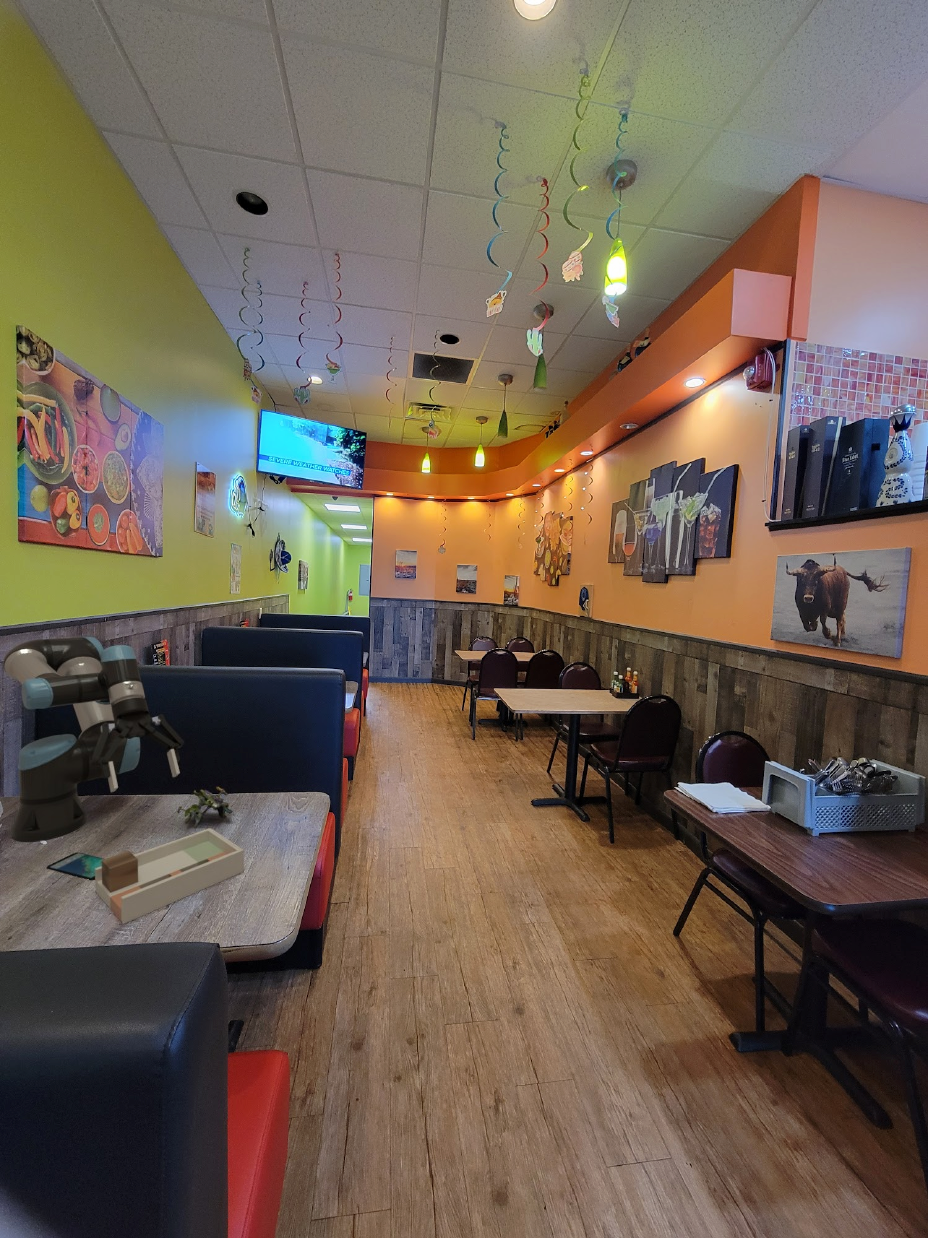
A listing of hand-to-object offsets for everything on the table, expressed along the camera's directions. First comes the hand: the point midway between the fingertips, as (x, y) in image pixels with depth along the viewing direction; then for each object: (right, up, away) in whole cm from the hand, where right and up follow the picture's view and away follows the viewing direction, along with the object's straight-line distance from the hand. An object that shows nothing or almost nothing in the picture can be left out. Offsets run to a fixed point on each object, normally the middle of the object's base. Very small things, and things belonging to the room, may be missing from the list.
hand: (146, 782), depth 125 cm
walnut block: (+5, -15, -18) cm, 24 cm away
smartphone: (-10, -17, -8) cm, 21 cm away
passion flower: (+7, -16, +15) cm, 23 cm away
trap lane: (+13, -18, -12) cm, 25 cm away
